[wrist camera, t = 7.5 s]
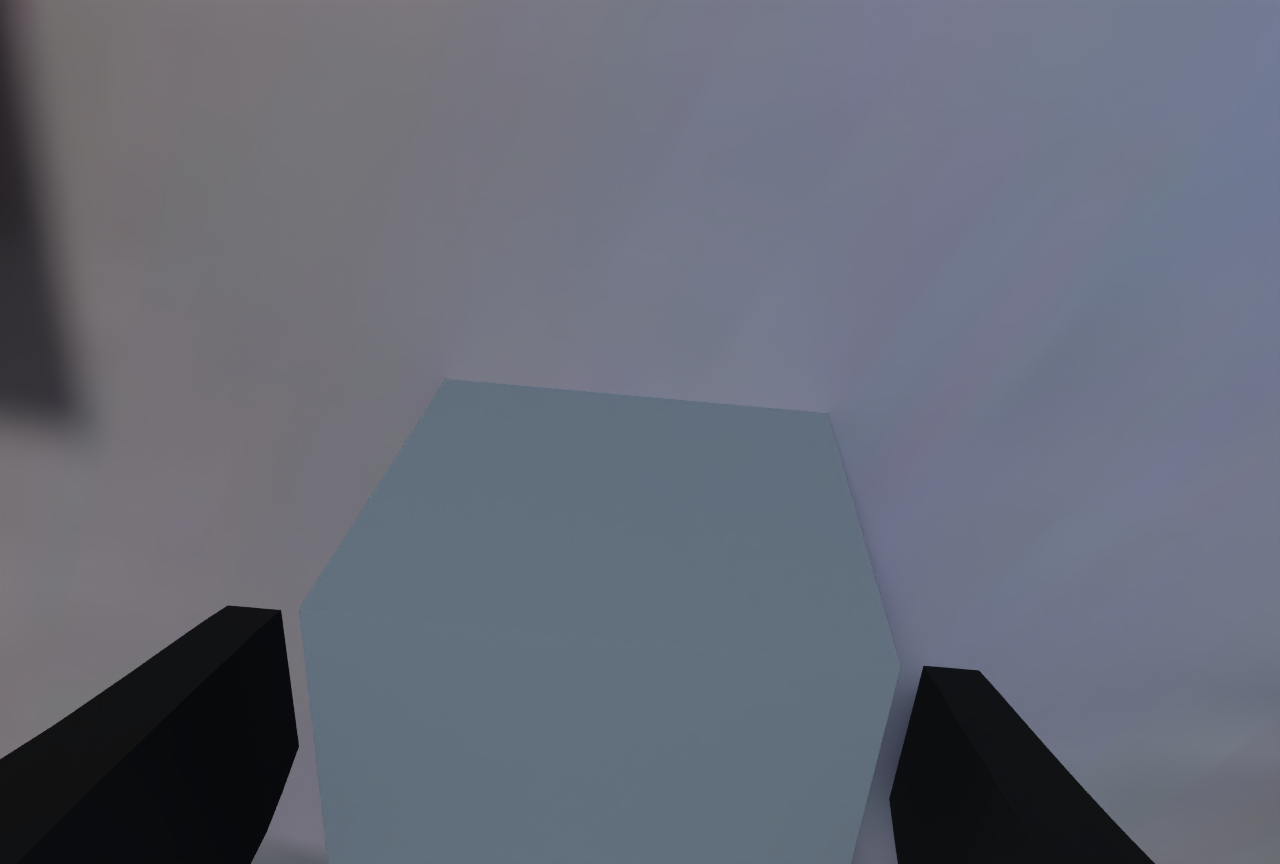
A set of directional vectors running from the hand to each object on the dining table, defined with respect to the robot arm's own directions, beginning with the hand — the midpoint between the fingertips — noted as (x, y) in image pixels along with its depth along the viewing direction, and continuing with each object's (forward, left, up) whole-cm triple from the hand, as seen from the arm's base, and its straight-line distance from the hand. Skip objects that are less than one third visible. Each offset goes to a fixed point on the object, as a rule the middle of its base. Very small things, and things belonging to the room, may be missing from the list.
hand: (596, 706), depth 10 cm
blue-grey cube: (0, 0, -3) cm, 3 cm away
